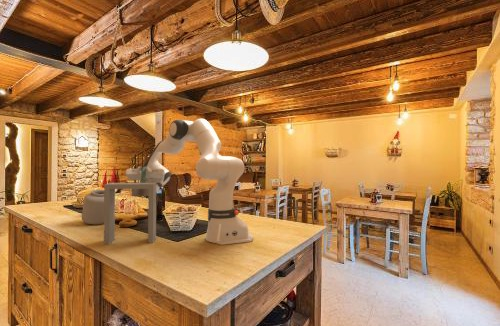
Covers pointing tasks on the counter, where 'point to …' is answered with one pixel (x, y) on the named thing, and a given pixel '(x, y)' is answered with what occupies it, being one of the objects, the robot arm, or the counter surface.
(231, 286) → the counter surface
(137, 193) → the hook tool
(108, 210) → the stand
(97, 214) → the jar
